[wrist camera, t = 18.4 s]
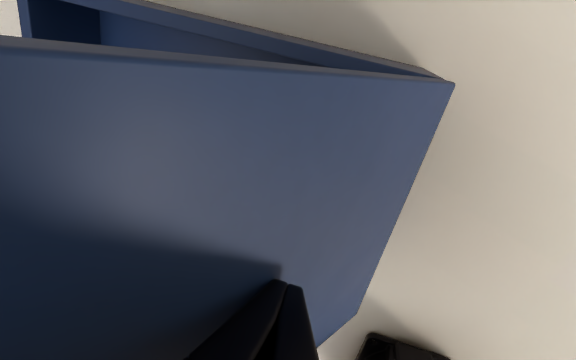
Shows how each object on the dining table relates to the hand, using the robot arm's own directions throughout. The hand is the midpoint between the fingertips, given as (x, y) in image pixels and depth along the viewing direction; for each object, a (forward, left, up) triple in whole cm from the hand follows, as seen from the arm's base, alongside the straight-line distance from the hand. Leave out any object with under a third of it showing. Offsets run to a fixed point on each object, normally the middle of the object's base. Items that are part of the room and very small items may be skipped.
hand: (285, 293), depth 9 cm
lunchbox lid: (0, +2, +2) cm, 3 cm away
